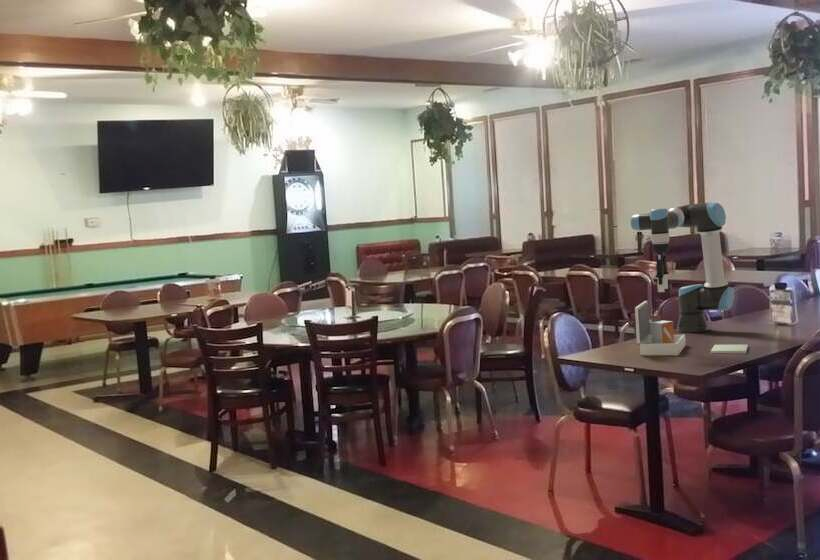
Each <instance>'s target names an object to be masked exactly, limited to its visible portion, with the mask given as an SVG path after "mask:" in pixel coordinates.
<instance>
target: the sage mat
mask: <svg viewBox="0 0 820 560" xmlns="http://www.w3.org/2000/svg"><path fill="white" fill-rule="evenodd" d="M748 348H749V344H713V347H712V348H711V350H710V354H747V350H748Z"/></svg>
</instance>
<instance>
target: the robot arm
mask: <svg viewBox="0 0 820 560" xmlns="http://www.w3.org/2000/svg"><path fill="white" fill-rule="evenodd" d="M726 218H727V216H726V212H725V209H724V207H723V206H722V204H720V203H718V202H703V203H690V204H689V203H688V204H684V205H682V206H681V205H680V206H676V207H672V208H670V209H669V210H668V208H655V209H654V208H652V209H651V210H650V212H649V213H641V214H639V213H638V214H633V215H632V216H631V218H630V227H631V229H632V230H634V231H651V236H650V237H649V238H650V239H651V251H652V253H655V254H656V253H657V254H656V256H655V259H656V275H655V276H654V277H655V278H656V280H657V292H658V293H665V290H668V289H669V284H668V283H669V282H668V281H669V279H668V275H669V274H670V272H669V271H668V265H667V264H668V263H667V254H666V253H668V252H670V248H671V247H670V243H669V242H670V233H669V232H670V231H669V230H670V229H675V228H692V229H694V228H696V232H697V233H698V234H699V235H700V238H701V248H702V256H703V257H702V258H703V266H704V273H705V282H704V284H702V283H699V284H692V285H691V284H690V285H686V286H682V287H680V288H679V289H678V303H679V319H678V322H677V324H676V325H677V327H676V331H677V332H678V333H679V332H680V333H703V332H708V331H709V324H708V322H707V319H706V317H705V311H719V312H722V311H728V310H731V308H732V306H733V303H734V301H735V291H734V288H733V287H732V286H729V281H727V280H726V279H725V272H724V262H723V254H722V245H721V236H720V232H721V231H722V230H723V227H724V226H725V225H726Z"/></svg>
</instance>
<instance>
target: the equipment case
mask: <svg viewBox="0 0 820 560" xmlns="http://www.w3.org/2000/svg"><path fill="white" fill-rule="evenodd" d="M649 307H650V305H649V302H648V300H644V301H643V302H641V303H639V304H638V305H636V306H635V307H634V312H635V313H634V315H635V316H634V317H635V318H634V319H635V331H636V332H635V334H636V345H637V346H639V352H640V356H679V355H680V353H681V352H682V351H683V349H684V348H685V347H686V334H674V344H652V335H649V334H650V323H652V322H651V321H650V320H649V316H650V308H649Z"/></svg>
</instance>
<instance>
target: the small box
mask: <svg viewBox="0 0 820 560" xmlns="http://www.w3.org/2000/svg"><path fill="white" fill-rule="evenodd" d="M674 333H675V332H674V321H673V320H659V321H657V322H653V323H651V335H652V344H674V335H675V334H674Z"/></svg>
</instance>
